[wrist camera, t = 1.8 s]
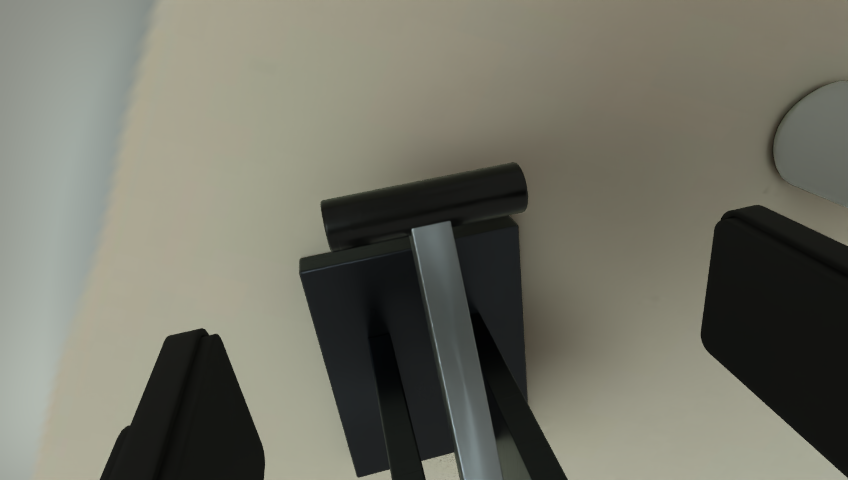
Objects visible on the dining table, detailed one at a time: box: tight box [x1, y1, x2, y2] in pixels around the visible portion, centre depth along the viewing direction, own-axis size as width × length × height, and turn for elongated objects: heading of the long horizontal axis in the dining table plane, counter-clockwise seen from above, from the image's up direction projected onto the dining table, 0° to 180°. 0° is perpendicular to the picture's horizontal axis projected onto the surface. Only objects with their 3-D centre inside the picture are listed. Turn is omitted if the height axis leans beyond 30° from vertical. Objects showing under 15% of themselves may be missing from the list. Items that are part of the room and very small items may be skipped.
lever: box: [321, 162, 528, 480], centre depth 15 cm, size 13×6×2 cm, turn 7°
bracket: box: [299, 215, 568, 480], centre depth 19 cm, size 12×9×13 cm
